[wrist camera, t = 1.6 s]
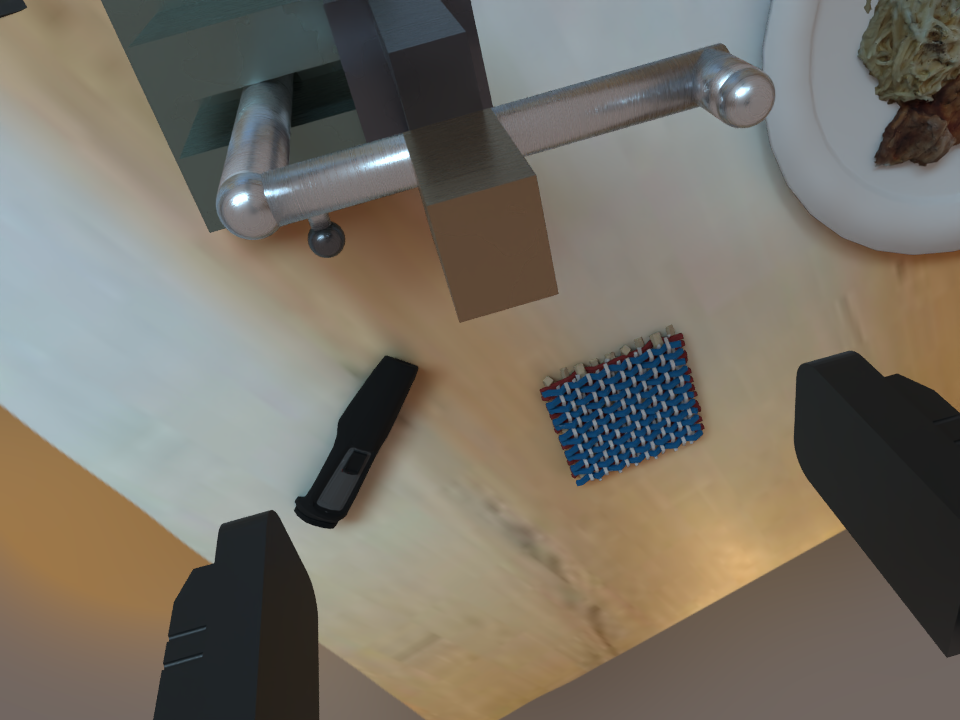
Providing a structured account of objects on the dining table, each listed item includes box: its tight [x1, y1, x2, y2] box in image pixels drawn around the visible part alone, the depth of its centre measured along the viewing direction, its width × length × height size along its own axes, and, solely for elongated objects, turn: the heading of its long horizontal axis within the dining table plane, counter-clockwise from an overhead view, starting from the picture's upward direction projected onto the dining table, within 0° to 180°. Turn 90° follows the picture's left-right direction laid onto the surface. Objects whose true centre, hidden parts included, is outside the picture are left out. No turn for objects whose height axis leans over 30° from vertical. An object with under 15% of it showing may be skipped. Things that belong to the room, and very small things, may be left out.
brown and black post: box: [323, 0, 558, 323], centre depth 24 cm, size 7×5×15 cm
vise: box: [101, 0, 775, 258], centre depth 30 cm, size 16×21×23 cm
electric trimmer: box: [294, 356, 418, 529], centre depth 53 cm, size 4×15×3 cm, turn 151°
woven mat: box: [540, 325, 705, 486], centre depth 56 cm, size 10×11×2 cm
